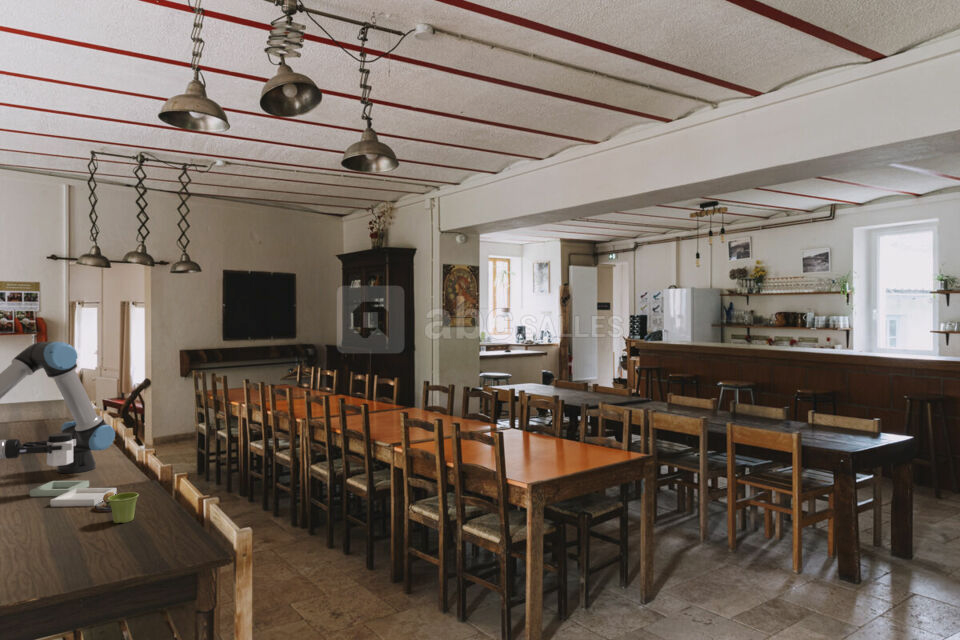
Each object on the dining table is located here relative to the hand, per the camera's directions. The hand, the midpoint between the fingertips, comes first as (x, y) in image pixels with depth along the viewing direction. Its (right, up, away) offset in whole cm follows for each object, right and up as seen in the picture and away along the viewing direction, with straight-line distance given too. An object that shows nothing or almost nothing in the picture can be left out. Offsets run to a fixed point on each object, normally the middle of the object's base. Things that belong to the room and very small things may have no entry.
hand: (73, 444), depth 256 cm
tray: (+13, -19, -13) cm, 26 cm away
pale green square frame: (-5, -19, -1) cm, 20 cm away
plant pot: (+42, -19, -38) cm, 60 cm away
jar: (-4, -8, -2) cm, 9 cm away
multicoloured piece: (+29, -20, -22) cm, 42 cm away
